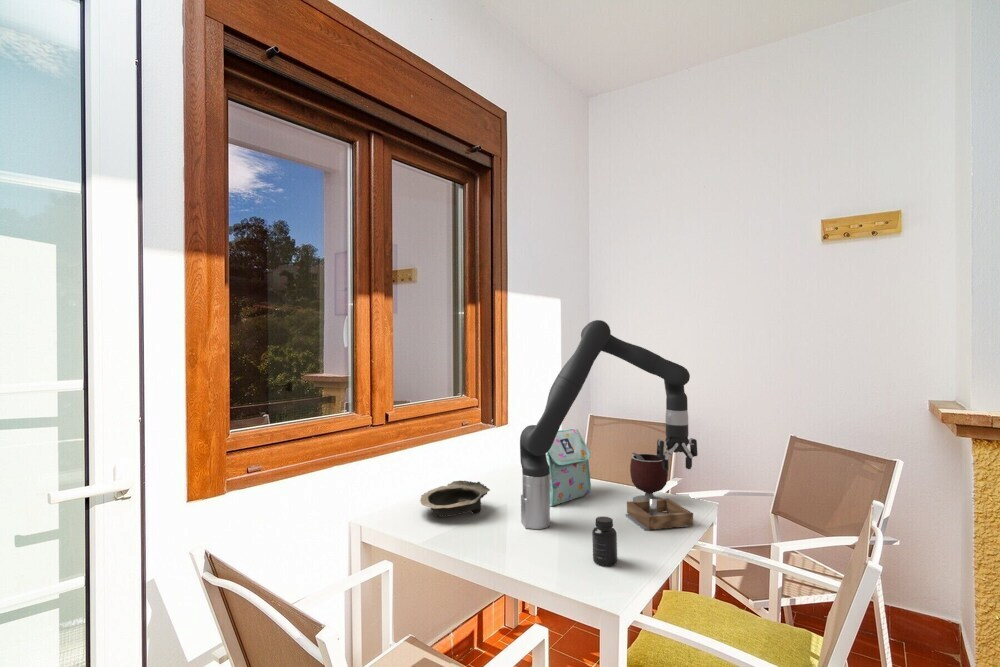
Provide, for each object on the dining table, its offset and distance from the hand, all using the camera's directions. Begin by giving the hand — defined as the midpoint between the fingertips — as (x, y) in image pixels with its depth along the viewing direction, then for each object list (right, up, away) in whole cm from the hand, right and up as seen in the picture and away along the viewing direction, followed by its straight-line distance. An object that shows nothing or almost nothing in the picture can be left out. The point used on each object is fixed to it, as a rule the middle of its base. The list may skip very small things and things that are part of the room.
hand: (677, 469), depth 178 cm
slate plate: (-9, -17, -2) cm, 20 cm away
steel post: (-9, -17, -2) cm, 20 cm away
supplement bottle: (-32, -17, -33) cm, 49 cm away
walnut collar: (-7, -17, -2) cm, 18 cm away
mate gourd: (-5, -18, +18) cm, 26 cm away
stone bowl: (-78, -18, +8) cm, 81 cm away
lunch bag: (-38, -18, +25) cm, 49 cm away
